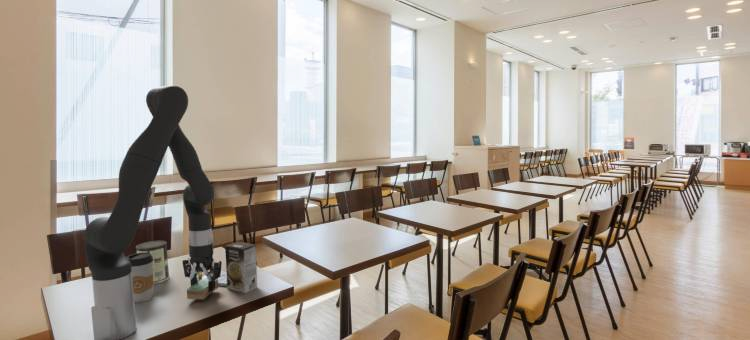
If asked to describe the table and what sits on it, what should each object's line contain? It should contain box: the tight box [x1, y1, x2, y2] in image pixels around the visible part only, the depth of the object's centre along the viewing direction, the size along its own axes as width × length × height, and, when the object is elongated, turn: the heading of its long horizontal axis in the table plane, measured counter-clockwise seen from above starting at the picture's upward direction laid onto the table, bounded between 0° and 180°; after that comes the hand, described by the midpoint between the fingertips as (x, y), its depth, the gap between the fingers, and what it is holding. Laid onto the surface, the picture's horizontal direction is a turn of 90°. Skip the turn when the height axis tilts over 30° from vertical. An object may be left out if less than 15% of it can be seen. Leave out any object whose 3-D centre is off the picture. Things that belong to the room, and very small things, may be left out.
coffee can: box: [135, 240, 170, 285], centre depth 150 cm, size 10×10×14 cm
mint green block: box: [186, 278, 219, 300], centre depth 135 cm, size 10×6×3 cm, turn 175°
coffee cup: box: [126, 252, 154, 303], centre depth 134 cm, size 8×8×15 cm
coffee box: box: [224, 241, 258, 294], centre depth 141 cm, size 9×6×16 cm
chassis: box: [197, 265, 227, 287], centre depth 150 cm, size 11×14×5 cm
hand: (203, 289), depth 135 cm, fingers closed on mint green block, 6 cm apart
